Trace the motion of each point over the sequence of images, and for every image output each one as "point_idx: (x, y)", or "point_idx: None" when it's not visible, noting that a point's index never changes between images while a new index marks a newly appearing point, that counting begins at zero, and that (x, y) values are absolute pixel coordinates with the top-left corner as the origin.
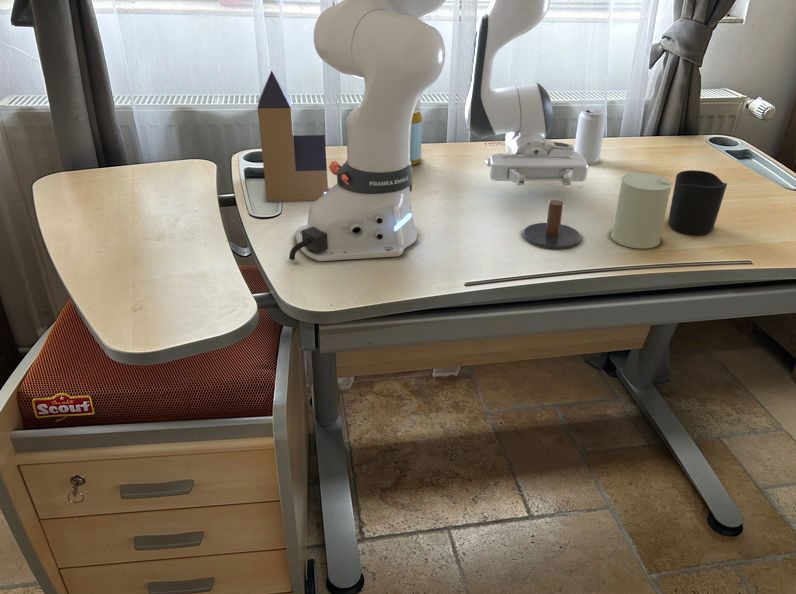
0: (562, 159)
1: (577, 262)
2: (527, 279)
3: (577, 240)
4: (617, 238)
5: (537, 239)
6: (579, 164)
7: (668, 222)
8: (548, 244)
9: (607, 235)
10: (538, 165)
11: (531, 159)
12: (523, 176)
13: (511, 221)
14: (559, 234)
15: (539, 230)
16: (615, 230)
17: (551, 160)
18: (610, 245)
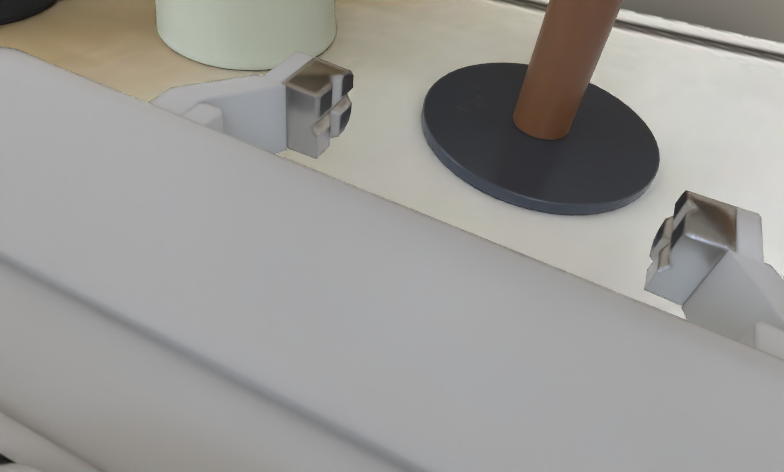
0: (7, 224)
1: (539, 31)
2: (716, 40)
3: (473, 67)
4: (333, 21)
5: (620, 120)
6: (31, 66)
7: (15, 13)
8: (593, 88)
9: None
10: (470, 234)
11: (452, 436)
12: (700, 199)
13: (667, 304)
14: (513, 110)
15: (579, 158)
16: (328, 9)
17: (186, 263)
18: (368, 37)
